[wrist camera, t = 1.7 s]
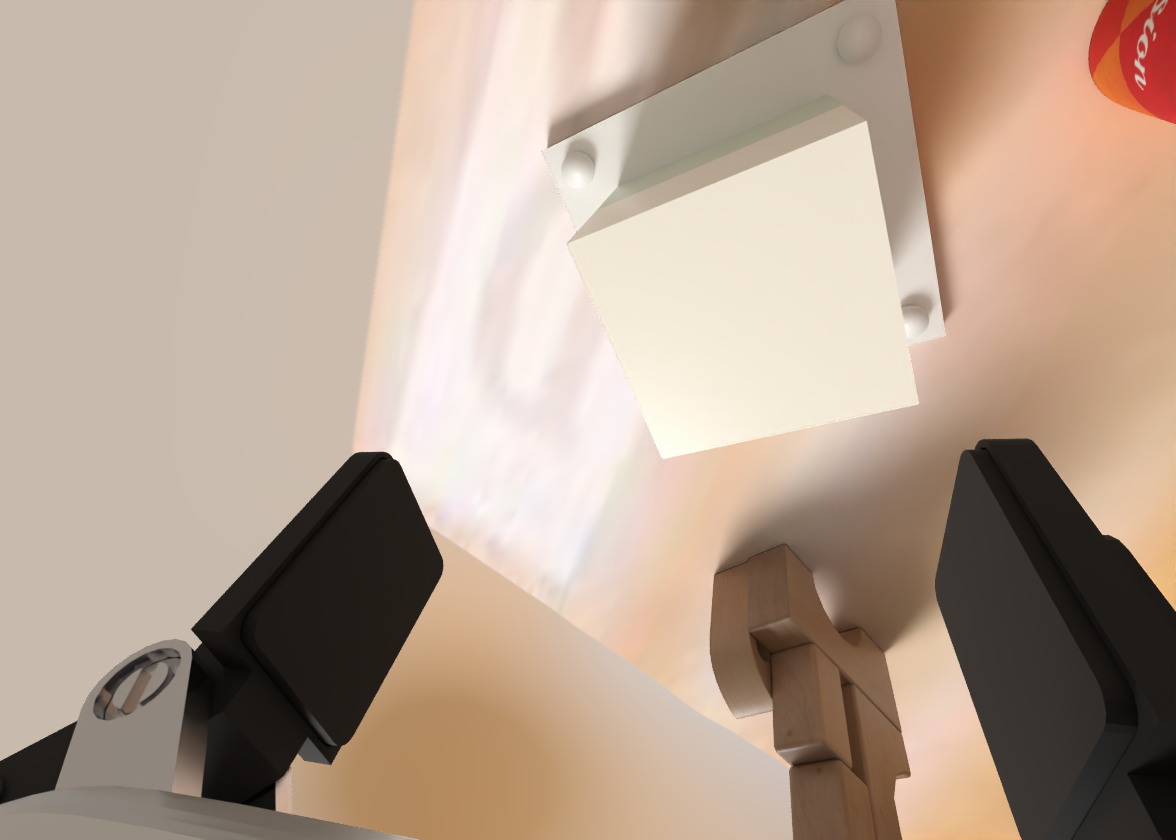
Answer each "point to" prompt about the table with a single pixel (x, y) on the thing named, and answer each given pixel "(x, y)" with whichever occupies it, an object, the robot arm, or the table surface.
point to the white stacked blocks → (761, 235)
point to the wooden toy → (810, 697)
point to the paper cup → (1137, 56)
